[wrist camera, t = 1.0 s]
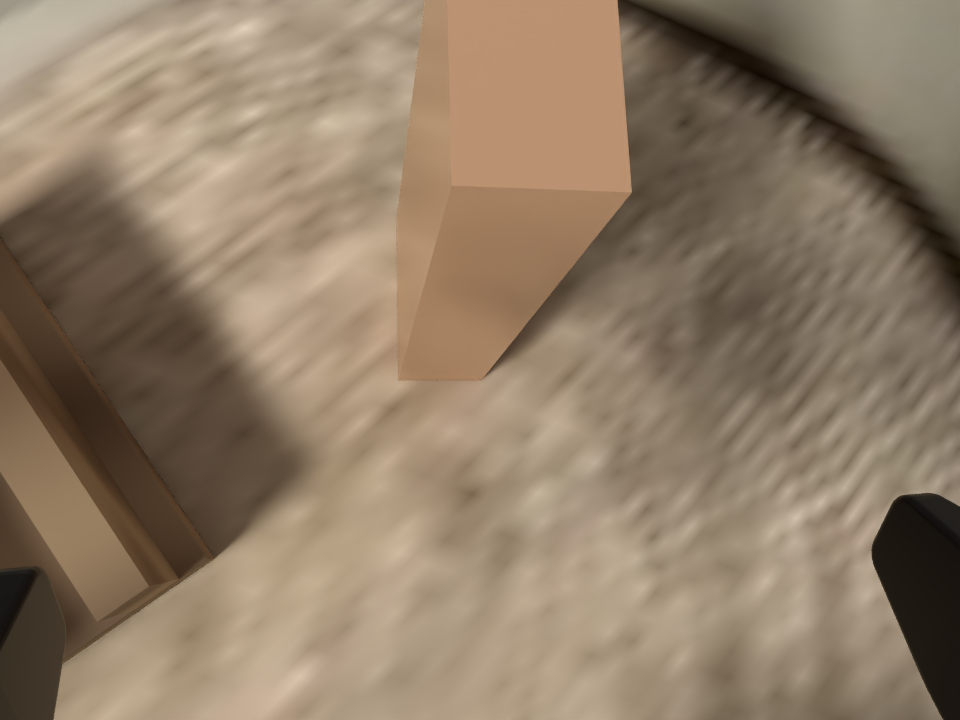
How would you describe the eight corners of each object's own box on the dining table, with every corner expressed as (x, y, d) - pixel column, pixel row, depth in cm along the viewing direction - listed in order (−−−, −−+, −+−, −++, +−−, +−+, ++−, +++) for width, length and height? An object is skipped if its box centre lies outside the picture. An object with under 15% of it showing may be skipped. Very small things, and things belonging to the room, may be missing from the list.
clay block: (481, 380, 23) (631, 192, 11) (397, 379, 23) (451, 185, 10) (476, 218, 24) (606, -128, 12) (396, 216, 24) (443, -144, 11)
